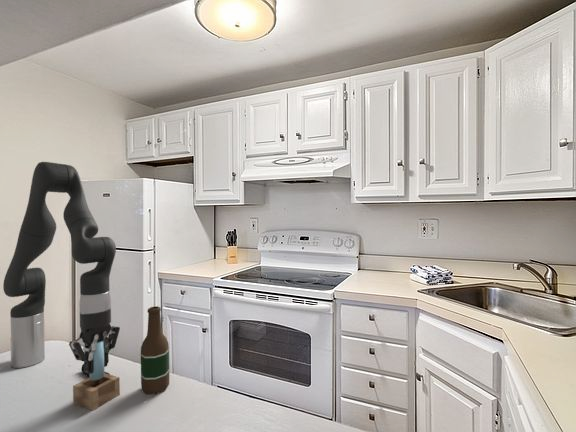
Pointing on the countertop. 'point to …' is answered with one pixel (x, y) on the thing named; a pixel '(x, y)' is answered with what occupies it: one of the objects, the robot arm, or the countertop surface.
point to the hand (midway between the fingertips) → (96, 369)
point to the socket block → (96, 391)
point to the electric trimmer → (87, 373)
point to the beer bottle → (154, 356)
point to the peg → (98, 362)
